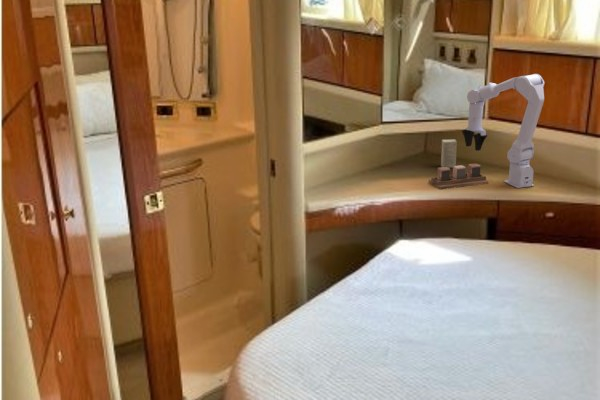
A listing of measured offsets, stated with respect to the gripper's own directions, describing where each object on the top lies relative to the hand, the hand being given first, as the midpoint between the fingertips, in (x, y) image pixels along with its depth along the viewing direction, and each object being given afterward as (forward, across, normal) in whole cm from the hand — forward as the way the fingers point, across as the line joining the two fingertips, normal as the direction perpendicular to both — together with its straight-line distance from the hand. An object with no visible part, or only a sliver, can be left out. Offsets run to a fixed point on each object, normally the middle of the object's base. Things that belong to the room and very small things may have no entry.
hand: (473, 148), depth 255 cm
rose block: (+9, +13, -14) cm, 21 cm away
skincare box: (+11, -10, -6) cm, 16 cm away
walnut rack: (+10, +13, -14) cm, 22 cm away
